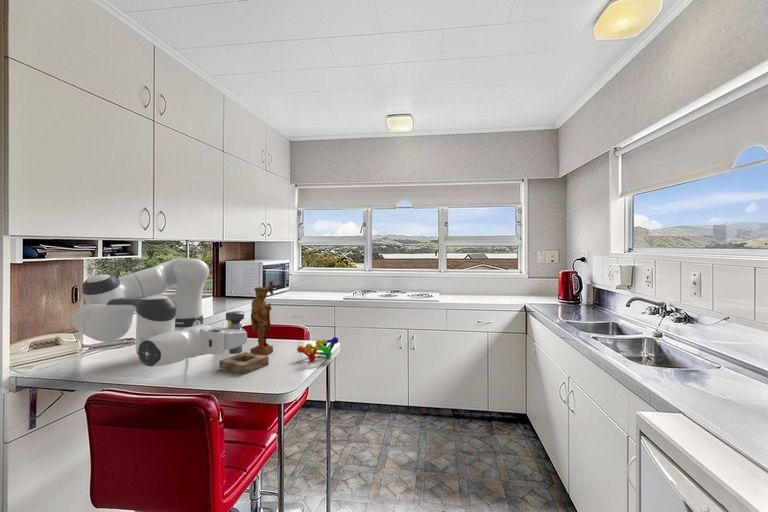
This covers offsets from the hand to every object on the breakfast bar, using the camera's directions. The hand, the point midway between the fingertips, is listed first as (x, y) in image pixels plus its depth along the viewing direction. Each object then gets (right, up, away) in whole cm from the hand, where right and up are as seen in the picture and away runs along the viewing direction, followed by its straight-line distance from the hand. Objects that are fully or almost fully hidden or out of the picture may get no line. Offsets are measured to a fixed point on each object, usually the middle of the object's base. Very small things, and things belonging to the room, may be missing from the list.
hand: (237, 330), depth 127 cm
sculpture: (-1, -16, +31) cm, 34 cm away
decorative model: (+22, -16, +25) cm, 37 cm away
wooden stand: (-3, -16, +15) cm, 22 cm away
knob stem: (0, -7, 0) cm, 7 cm away
